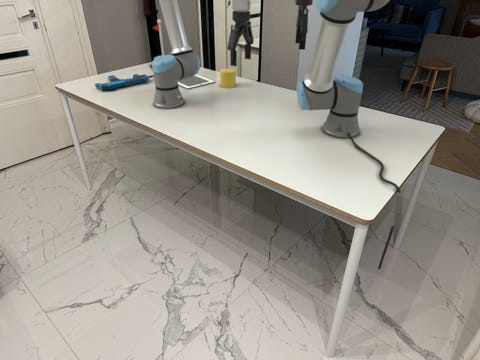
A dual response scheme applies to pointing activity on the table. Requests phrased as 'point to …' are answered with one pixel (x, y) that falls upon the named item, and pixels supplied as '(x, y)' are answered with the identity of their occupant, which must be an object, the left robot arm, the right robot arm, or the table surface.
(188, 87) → the tablet
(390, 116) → the table surface
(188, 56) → the left robot arm
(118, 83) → the submachine gun
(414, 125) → the table surface
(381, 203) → the table surface
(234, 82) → the tin
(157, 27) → the flag stand
